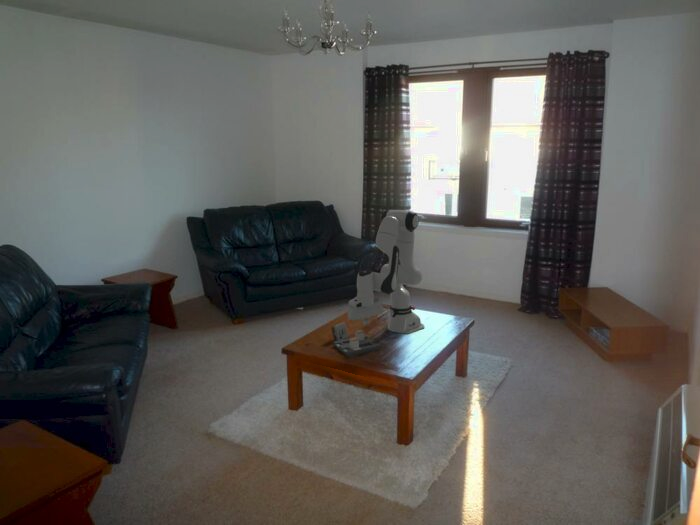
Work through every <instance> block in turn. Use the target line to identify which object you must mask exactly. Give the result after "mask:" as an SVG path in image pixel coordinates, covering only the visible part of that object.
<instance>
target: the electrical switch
mask: <svg viewBox="0 0 700 525" xmlns="http://www.w3.org/2000/svg"><path fill="white" fill-rule="evenodd" d="M347 327H348V326H347V324H346V322H345V321H343V322H340V323H338V324H336V325H334V326H331V328H330V329H331V331H332V332H331V333H332V336H333V340H334V341H333V342H335V341H340V340H345V339H349V332H348V328H347Z"/></svg>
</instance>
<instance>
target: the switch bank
mask: <svg viewBox="0 0 700 525" xmlns="http://www.w3.org/2000/svg"><path fill="white" fill-rule="evenodd" d="M354 337H355V336H354ZM354 337H352V338H354ZM350 338H351V337H350ZM350 338H349V337H348V338H347V339H345V340H340V341H333V347H334V348H336V349H338V350H339V351H340V352H341V353H342V354H344V355H345V356H347V357H352V356H357V355H361V354H367V353H370V352H374V351H379V350H381V347H382V346H381V344H380V343H376V341H375V340H374V339H372V338H368V336H367V335H366V334H364V340H362V341H359V348H356V349H351V348H350Z"/></svg>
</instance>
